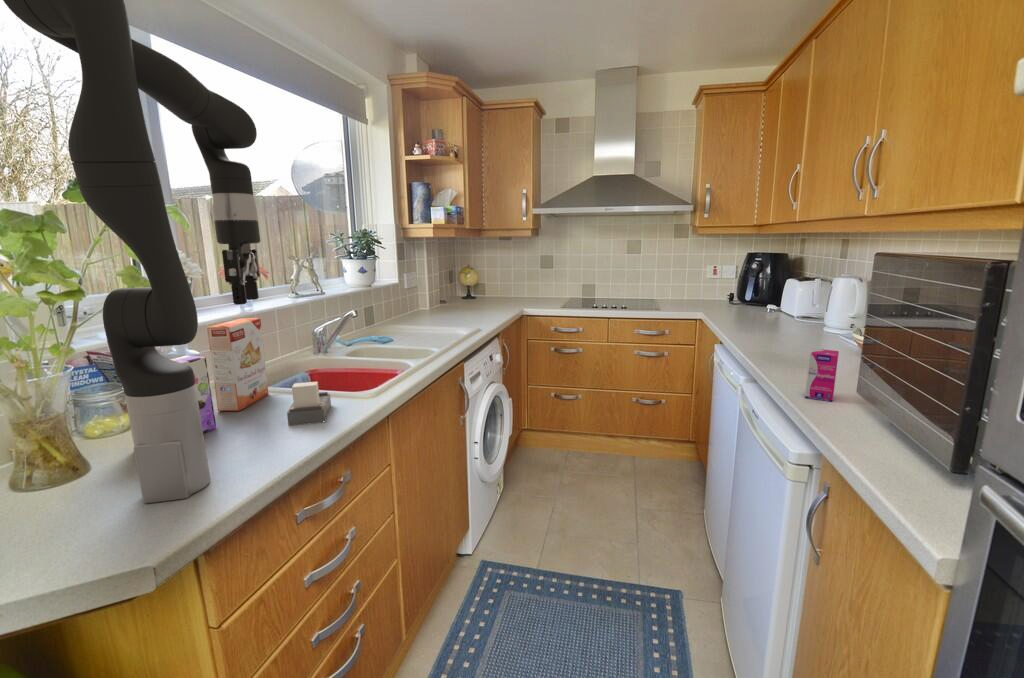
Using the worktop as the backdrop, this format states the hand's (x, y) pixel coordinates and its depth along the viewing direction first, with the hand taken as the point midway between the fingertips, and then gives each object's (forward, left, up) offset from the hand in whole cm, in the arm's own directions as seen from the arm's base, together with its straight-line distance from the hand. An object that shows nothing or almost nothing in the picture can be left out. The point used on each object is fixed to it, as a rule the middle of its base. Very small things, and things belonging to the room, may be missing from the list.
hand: (247, 301), depth 98 cm
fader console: (+9, -8, -28) cm, 31 cm away
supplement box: (-14, -128, -28) cm, 132 cm away
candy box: (+2, +17, -28) cm, 33 cm away
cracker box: (+24, +10, -28) cm, 38 cm away
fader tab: (+6, -8, -25) cm, 27 cm away
